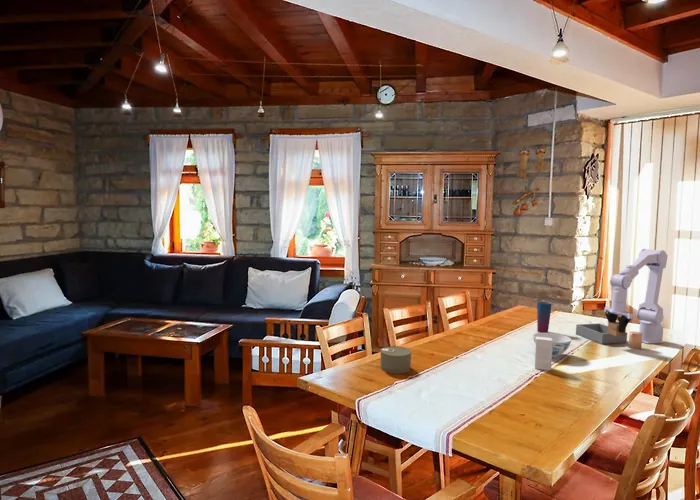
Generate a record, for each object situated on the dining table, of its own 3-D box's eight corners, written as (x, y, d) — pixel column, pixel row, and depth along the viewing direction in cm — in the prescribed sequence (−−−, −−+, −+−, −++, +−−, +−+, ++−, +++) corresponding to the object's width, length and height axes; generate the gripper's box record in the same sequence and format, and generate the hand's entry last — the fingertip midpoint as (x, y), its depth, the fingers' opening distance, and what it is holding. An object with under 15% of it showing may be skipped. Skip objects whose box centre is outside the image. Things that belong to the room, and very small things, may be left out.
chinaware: (575, 355, 204) (576, 337, 204) (562, 363, 194) (563, 344, 193) (540, 347, 215) (541, 330, 214) (526, 354, 204) (527, 337, 203)
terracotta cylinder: (634, 346, 219) (636, 331, 219) (643, 349, 215) (645, 334, 214) (625, 346, 218) (626, 331, 218) (634, 350, 213) (635, 334, 213)
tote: (598, 333, 241) (599, 323, 240) (626, 343, 224) (627, 332, 223) (575, 334, 238) (576, 324, 237) (601, 344, 221) (602, 334, 220)
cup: (547, 330, 245) (549, 301, 243) (551, 333, 238) (553, 304, 236) (533, 329, 245) (535, 301, 244) (537, 333, 239) (539, 303, 237)
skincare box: (550, 367, 188) (552, 337, 187) (551, 370, 184) (552, 340, 183) (533, 365, 190) (535, 336, 189) (534, 368, 186) (536, 338, 185)
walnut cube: (616, 332, 219) (617, 321, 218) (625, 335, 214) (626, 324, 213) (607, 333, 218) (608, 322, 217) (616, 336, 213) (616, 325, 212)
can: (406, 375, 177) (407, 357, 176) (376, 370, 181) (376, 353, 181) (414, 365, 188) (414, 348, 188) (384, 361, 192) (385, 344, 192)
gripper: (599, 298, 220) (597, 326, 222) (624, 304, 206) (622, 335, 208) (612, 297, 222) (610, 326, 223) (637, 304, 208) (635, 334, 209)
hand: (616, 330), depth 216 cm, fingers closed on walnut cube, 5 cm apart
